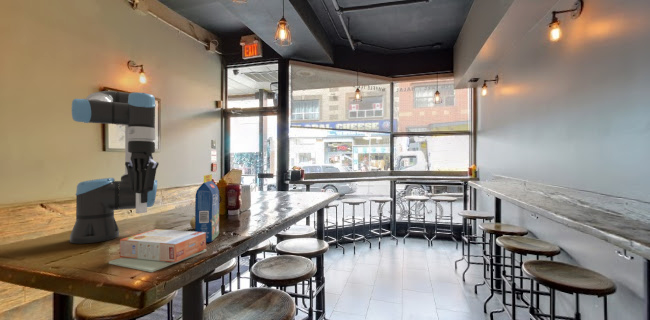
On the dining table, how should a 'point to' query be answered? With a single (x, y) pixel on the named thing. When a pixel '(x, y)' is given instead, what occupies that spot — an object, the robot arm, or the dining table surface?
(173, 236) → the cracker box
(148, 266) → the mat
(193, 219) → the onion
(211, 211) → the blue food package
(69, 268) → the dining table surface
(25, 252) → the dining table surface
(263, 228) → the dining table surface
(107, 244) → the dining table surface
